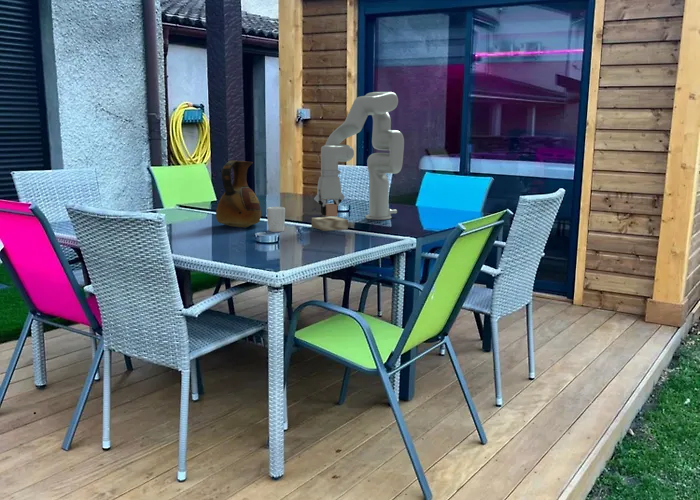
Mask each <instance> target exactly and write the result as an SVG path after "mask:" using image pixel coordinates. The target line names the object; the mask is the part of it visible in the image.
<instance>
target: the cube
mask: <svg viewBox="0 0 700 500" xmlns="http://www.w3.org/2000/svg"><path fill="white" fill-rule="evenodd" d="M325 207H326V215H325V216H324V215H322V217H331V216H336V217H338V212H337V204H334V202H331V203H326V204H325Z"/></svg>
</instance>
